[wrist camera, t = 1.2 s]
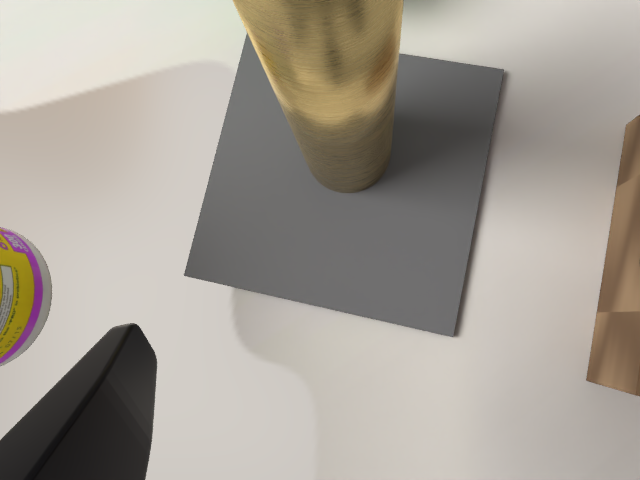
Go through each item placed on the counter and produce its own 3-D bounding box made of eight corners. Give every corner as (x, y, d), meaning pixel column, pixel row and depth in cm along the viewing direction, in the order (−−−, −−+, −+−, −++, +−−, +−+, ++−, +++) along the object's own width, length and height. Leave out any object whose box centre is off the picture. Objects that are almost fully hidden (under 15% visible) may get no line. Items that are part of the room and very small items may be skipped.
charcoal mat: (452, 336, 22) (453, 337, 21) (186, 276, 23) (184, 275, 23) (502, 72, 23) (504, 69, 23) (249, 33, 25) (247, 30, 24)
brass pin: (381, 200, 22) (388, -26, 8) (297, 184, 23) (155, -57, 8) (398, 119, 23) (437, -241, 8) (316, 105, 23) (213, -257, 9)
